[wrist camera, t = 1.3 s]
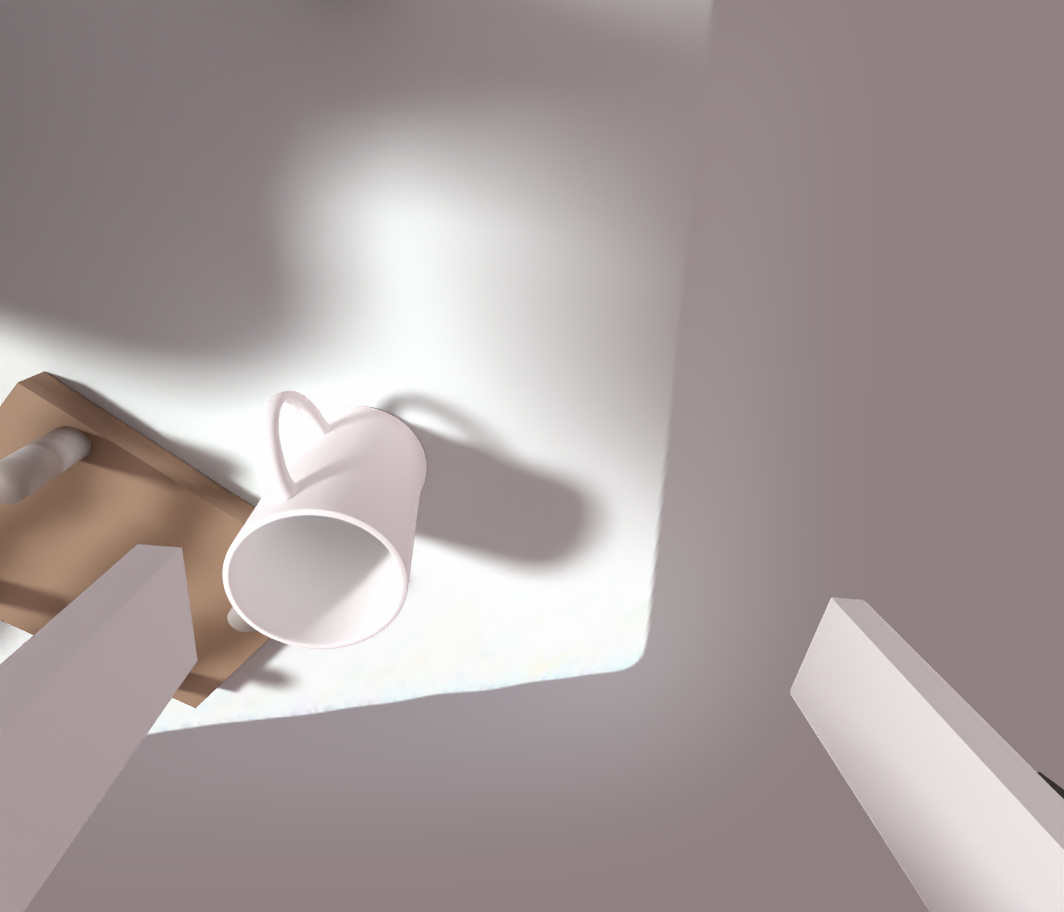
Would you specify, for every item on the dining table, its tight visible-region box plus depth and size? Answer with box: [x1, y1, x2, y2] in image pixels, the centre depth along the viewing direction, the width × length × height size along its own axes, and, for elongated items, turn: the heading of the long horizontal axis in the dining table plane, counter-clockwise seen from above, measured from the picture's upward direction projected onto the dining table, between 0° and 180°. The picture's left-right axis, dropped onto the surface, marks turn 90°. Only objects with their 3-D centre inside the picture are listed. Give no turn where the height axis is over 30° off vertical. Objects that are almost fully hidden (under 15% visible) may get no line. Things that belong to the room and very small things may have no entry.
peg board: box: [0, 372, 270, 708], centre depth 32 cm, size 20×16×7 cm
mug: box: [223, 391, 427, 649], centre depth 28 cm, size 12×8×12 cm
